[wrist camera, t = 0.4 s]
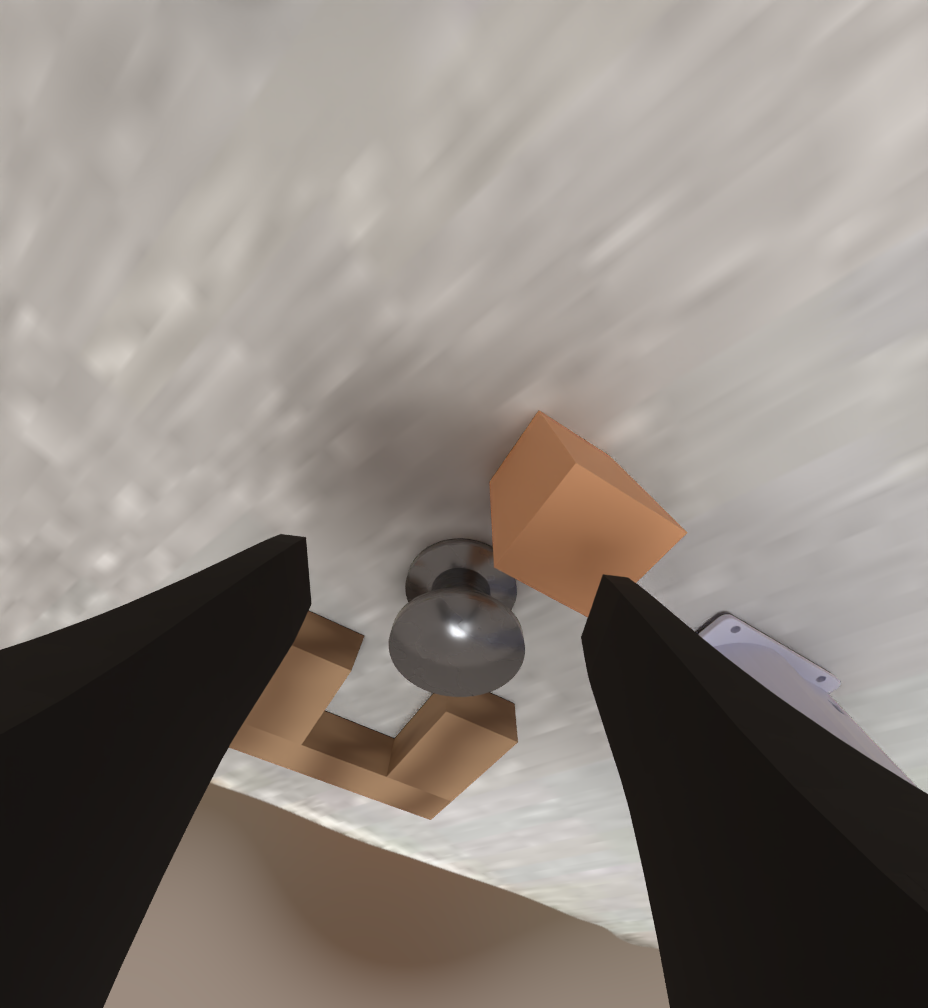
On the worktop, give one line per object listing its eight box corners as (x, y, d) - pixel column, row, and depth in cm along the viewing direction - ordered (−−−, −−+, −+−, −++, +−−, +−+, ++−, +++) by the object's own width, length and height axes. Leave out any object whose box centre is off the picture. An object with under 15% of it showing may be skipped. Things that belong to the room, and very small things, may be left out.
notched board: (514, 704, 24) (517, 742, 22) (434, 781, 29) (430, 820, 26) (286, 600, 21) (263, 633, 19) (235, 704, 26) (211, 741, 23)
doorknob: (537, 572, 20) (553, 636, 16) (478, 640, 22) (478, 713, 18) (440, 519, 19) (429, 574, 14) (389, 597, 21) (366, 664, 17)
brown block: (610, 456, 17) (687, 532, 10) (556, 521, 18) (596, 621, 12) (538, 410, 16) (575, 462, 10) (489, 481, 18) (494, 567, 11)
